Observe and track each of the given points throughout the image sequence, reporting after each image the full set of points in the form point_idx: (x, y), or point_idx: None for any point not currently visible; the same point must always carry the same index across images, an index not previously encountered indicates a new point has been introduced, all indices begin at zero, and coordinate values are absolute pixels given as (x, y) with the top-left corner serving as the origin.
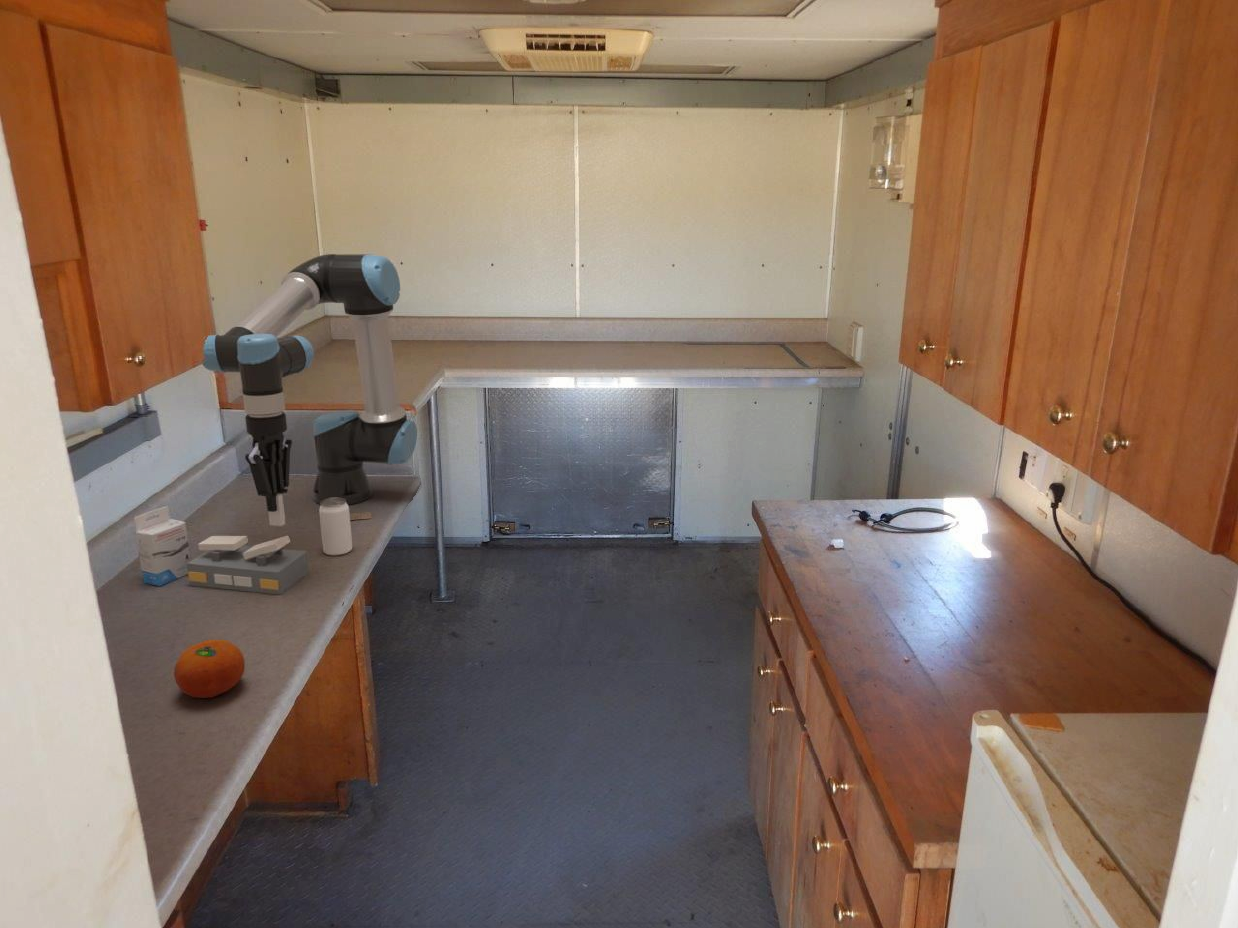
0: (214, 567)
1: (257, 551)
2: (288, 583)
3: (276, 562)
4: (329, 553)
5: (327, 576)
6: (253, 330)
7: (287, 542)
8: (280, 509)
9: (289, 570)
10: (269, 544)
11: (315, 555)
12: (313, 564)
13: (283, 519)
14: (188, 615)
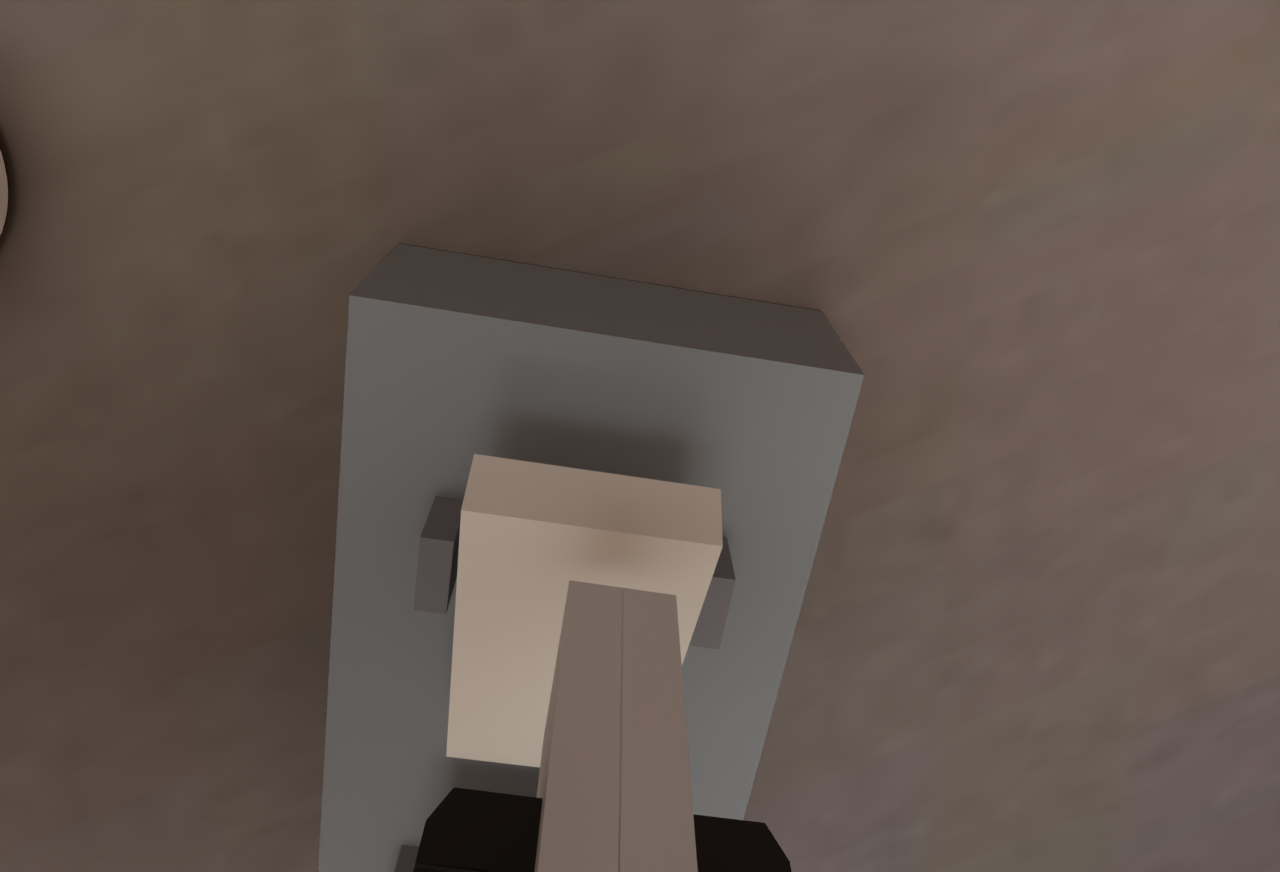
0: None
1: None
2: (708, 303)
3: (637, 475)
4: (4, 199)
5: (447, 49)
6: None
7: (527, 468)
8: (662, 773)
9: (682, 328)
10: None
11: (44, 325)
12: (226, 272)
13: (607, 631)
14: (1089, 738)
